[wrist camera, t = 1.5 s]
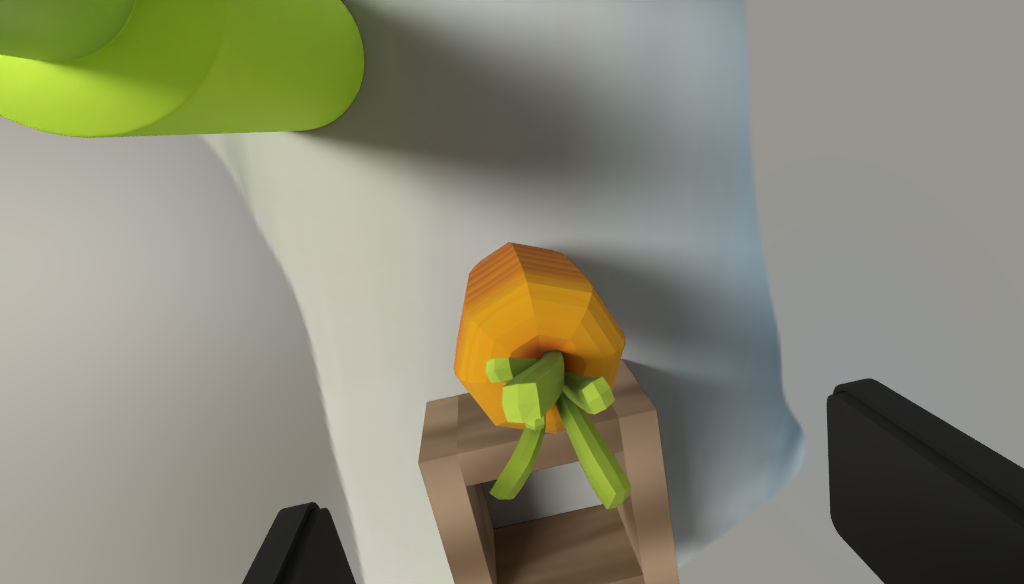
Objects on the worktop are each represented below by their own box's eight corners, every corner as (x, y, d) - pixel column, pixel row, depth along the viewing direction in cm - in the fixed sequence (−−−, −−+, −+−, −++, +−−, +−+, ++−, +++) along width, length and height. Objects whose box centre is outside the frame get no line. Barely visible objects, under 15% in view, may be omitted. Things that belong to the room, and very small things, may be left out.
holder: (426, 402, 27) (418, 463, 22) (622, 359, 27) (656, 409, 22) (471, 558, 30) (472, 641, 25) (646, 518, 30) (680, 593, 25)
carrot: (571, 303, 26) (704, 527, 11) (470, 324, 25) (475, 578, 11) (554, 201, 24) (683, 311, 10) (446, 223, 24) (417, 369, 10)
